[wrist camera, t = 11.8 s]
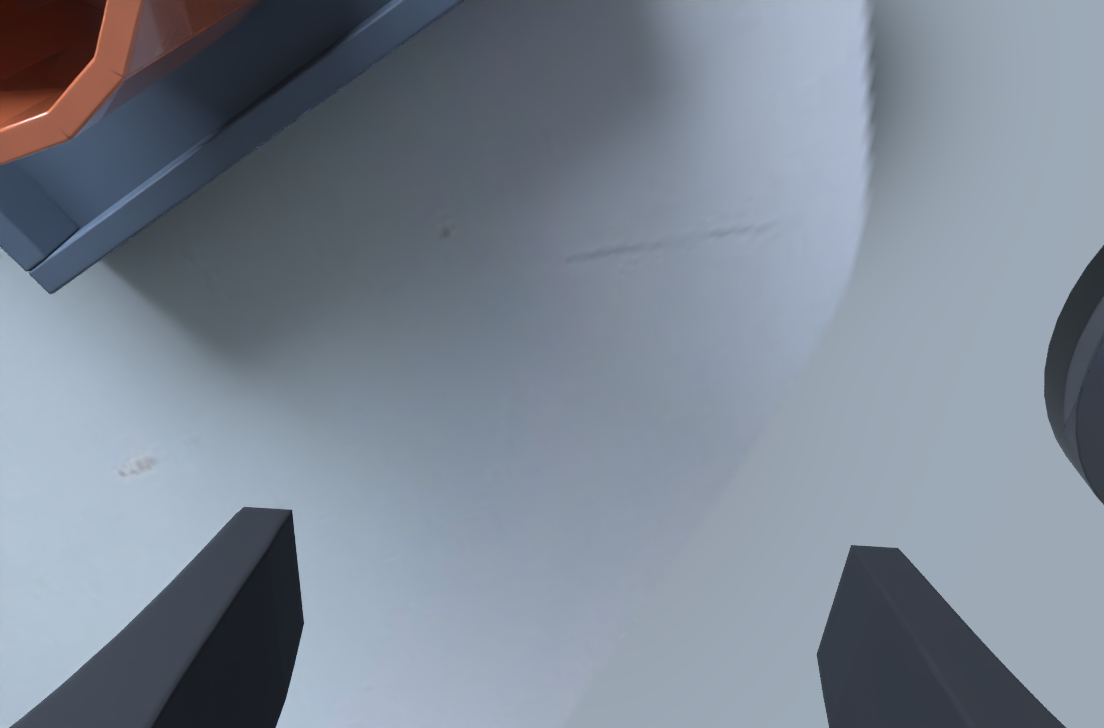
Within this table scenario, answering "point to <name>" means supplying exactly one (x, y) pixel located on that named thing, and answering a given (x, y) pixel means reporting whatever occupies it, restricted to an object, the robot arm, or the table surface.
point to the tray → (192, 128)
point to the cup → (93, 60)
